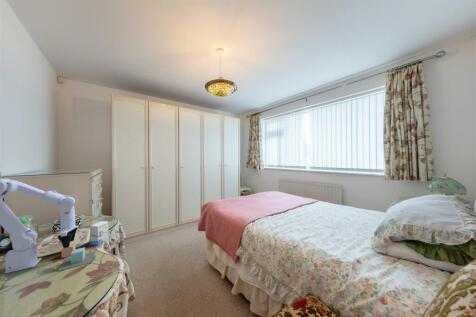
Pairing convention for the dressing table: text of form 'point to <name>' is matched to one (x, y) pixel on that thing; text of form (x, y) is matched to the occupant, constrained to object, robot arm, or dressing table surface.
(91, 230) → the ink box
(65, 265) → the mat
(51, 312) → the dressing table surface
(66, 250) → the peach block
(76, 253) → the teal brick
